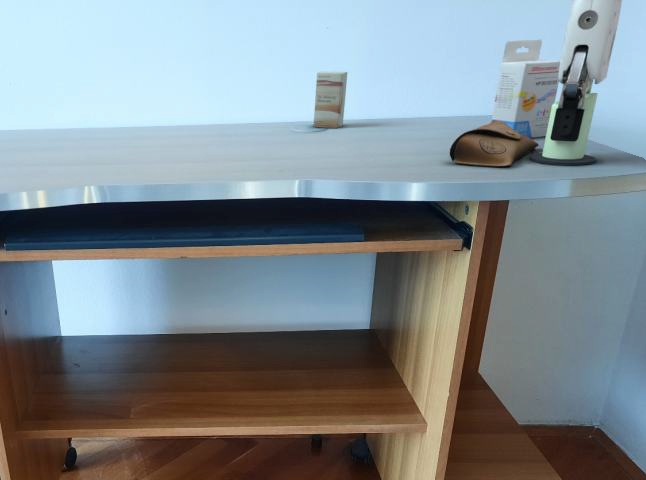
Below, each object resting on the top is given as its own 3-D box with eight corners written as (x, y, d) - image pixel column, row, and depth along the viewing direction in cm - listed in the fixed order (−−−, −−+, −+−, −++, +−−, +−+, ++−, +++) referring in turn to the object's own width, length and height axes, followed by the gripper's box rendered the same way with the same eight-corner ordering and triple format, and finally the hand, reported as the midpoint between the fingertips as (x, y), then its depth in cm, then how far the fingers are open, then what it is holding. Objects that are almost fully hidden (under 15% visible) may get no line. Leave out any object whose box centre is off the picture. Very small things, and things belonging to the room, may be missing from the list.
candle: (545, 159, 87) (558, 95, 83) (539, 153, 91) (551, 91, 87) (586, 160, 85) (602, 94, 82) (578, 154, 90) (592, 91, 86)
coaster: (598, 157, 89) (599, 154, 89) (592, 167, 83) (593, 164, 83) (535, 153, 93) (535, 150, 93) (525, 163, 87) (525, 160, 87)
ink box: (512, 141, 104) (530, 40, 98) (487, 137, 108) (503, 41, 102) (549, 136, 107) (569, 38, 101) (524, 132, 111) (541, 39, 105)
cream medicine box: (312, 127, 127) (315, 72, 122) (318, 124, 130) (321, 71, 126) (338, 128, 125) (342, 72, 120) (344, 125, 128) (347, 70, 124)
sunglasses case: (514, 164, 84) (494, 117, 83) (462, 187, 89) (443, 143, 88) (541, 144, 97) (523, 103, 96) (494, 165, 102) (477, 127, 101)
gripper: (631, -21, 71) (591, 149, 79) (639, -16, 83) (604, 130, 91) (555, -16, 75) (524, 145, 83) (574, -12, 87) (545, 128, 95)
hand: (566, 136), depth 87 cm, fingers closed on candle, 4 cm apart
